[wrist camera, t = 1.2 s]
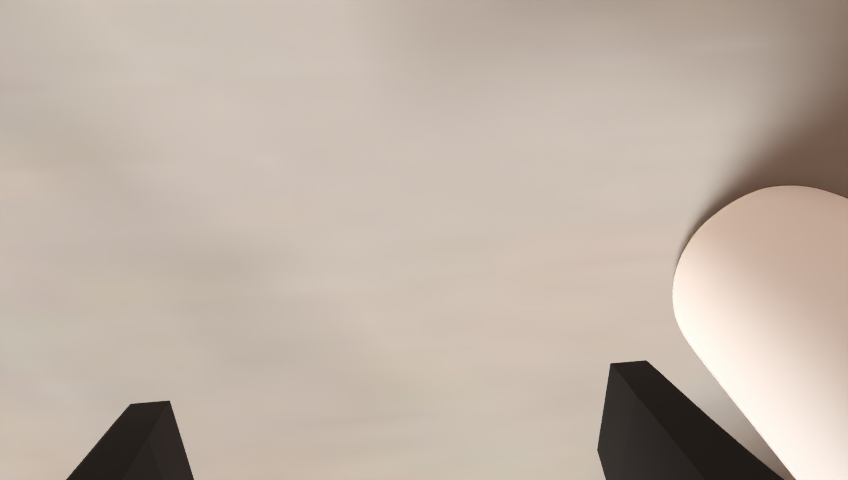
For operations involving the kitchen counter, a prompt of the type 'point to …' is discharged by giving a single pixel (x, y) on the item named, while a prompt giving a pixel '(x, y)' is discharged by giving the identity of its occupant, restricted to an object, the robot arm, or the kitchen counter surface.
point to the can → (776, 319)
